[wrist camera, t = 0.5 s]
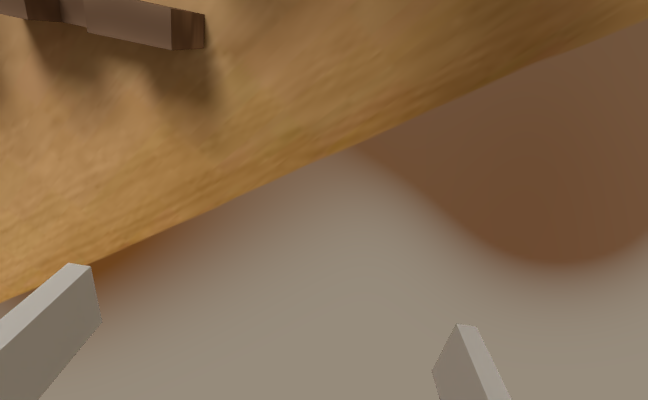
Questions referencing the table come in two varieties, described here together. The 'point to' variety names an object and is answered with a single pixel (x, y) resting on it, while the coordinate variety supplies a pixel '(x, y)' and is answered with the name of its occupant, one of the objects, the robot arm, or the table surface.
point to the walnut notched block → (118, 20)
